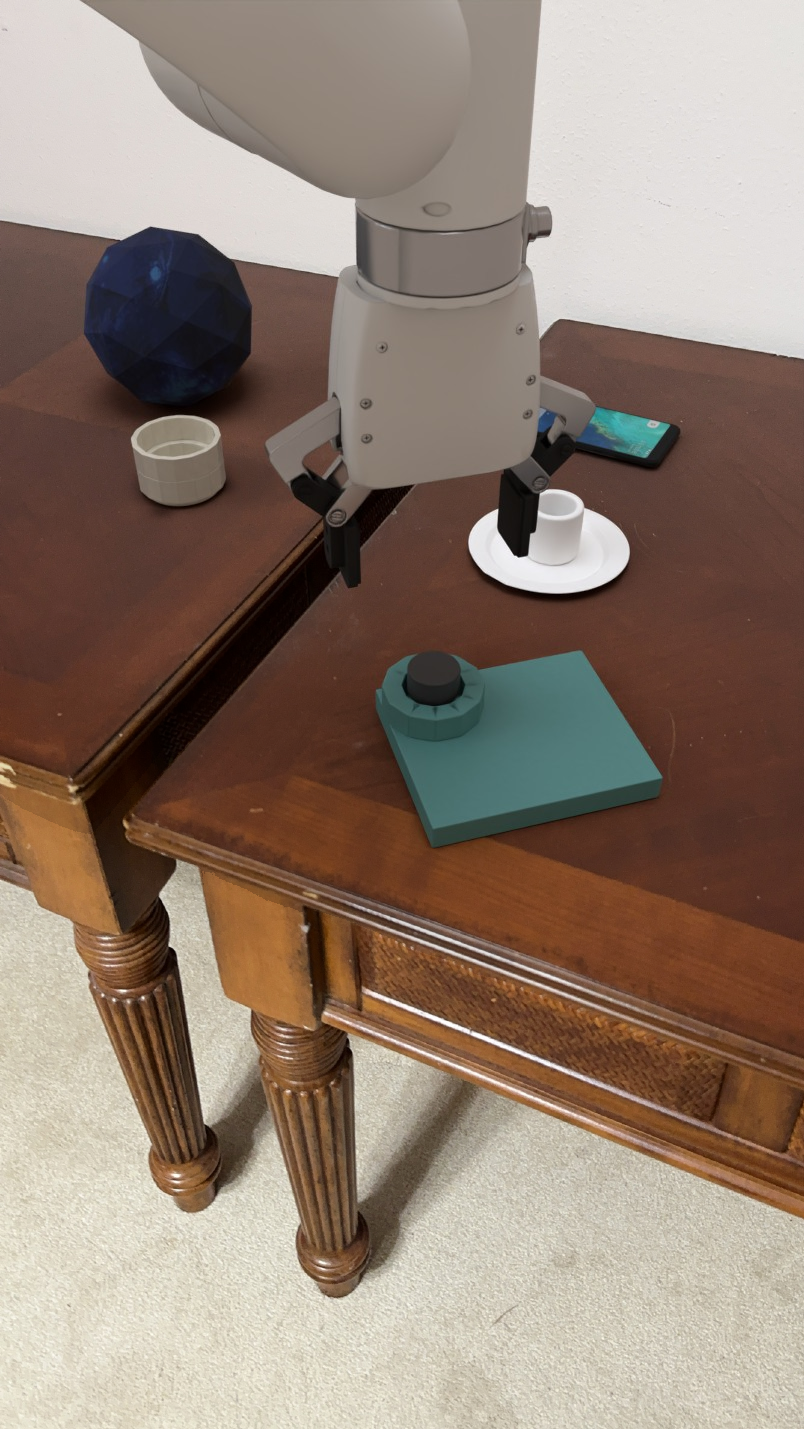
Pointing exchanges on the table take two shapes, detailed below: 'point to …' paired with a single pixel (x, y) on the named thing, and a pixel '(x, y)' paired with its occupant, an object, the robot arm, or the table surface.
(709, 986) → the table surface
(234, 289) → the decorative orb
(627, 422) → the smartphone
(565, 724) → the teal dial base
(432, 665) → the button
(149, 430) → the bowl
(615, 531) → the candle holder
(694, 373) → the table surface
